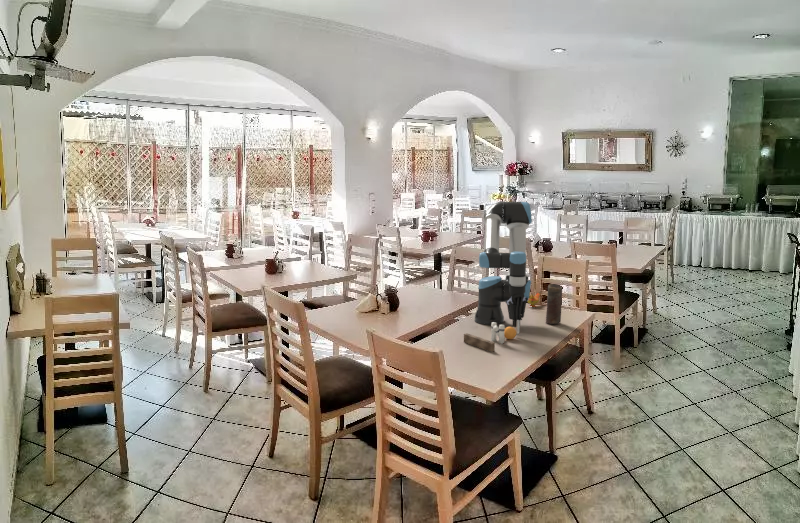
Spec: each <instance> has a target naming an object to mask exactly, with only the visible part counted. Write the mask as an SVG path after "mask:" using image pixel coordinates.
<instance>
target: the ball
mask: <svg viewBox="0 0 800 523" xmlns="http://www.w3.org/2000/svg"><path fill="white" fill-rule="evenodd" d="M516 335H517V334H516V330H515V329H514V328H513V326H507V327H505V331H504V336H505V337H506V339H507V340H513V339H515V338H516Z"/></svg>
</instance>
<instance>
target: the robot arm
mask: <svg viewBox="0 0 800 523" xmlns="http://www.w3.org/2000/svg"><path fill="white" fill-rule="evenodd" d="M531 208H532V207H531V205H530V203H529V202H528V201H498V202H495V203H493V204H492V205H491V206H490V207H489V208H488V209H487V210H486V211H485V212H484V215H483V225H484V238H483V239H484V241H483V251H482V252H479V255H478V266H479V267H480V268H484V269H508V273H507V275H505V279H502V276H500V275H499V276H498V275H490V276H486V277H481V278H480V279H479V280H478V287H477V289H478V299H477V300H478V302H477V303H478V304H477V309H476V312H475V314H474V321H475V322H476V323H478V324H482V325H490V326H491V324H492V322H496V323H497V325H501V324H502V323H504V321H505V317H504V313H503V310H502V303H505V304H506V306H507V313H508V318H509V320H512V325H511V327H513V328H514V329H515V330H516V335H518V334H520V327H521V321H522V320H523V319H524V317H525V312H526V307H527V303H528V302H527V301H528V299H529V294H530V295H531V286H532V280H531V279H529V276H528V275H527V274H526V272H527V253H526V249H527V248H526V246H527V244H526V243H527V241H526V240H527V229H529V227H530V225H531V224H533V218H532V210H531ZM502 224H506V228H507V229H508V230H509V233H508V236H509V238H508V252H500V232H501V230H500V226H501V225H502Z"/></svg>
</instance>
